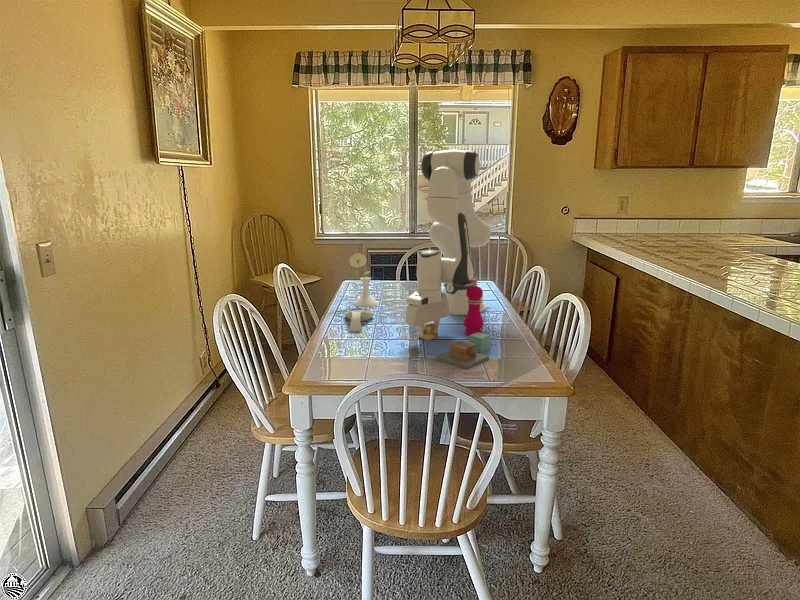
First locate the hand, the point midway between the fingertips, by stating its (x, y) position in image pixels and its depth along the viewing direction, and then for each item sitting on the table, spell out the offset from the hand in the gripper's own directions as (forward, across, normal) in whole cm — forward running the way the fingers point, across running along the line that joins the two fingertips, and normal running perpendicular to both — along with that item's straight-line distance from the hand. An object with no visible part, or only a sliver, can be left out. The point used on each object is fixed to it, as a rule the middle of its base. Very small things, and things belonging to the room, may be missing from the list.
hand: (428, 332), depth 184 cm
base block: (+1, +10, +23) cm, 25 cm away
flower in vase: (+2, -13, -49) cm, 51 cm away
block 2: (+2, -2, +21) cm, 21 cm away
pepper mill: (+2, -14, +10) cm, 17 cm away
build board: (+2, +10, +23) cm, 25 cm away
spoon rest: (+2, +6, -31) cm, 32 cm away
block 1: (+2, 0, 0) cm, 2 cm away
